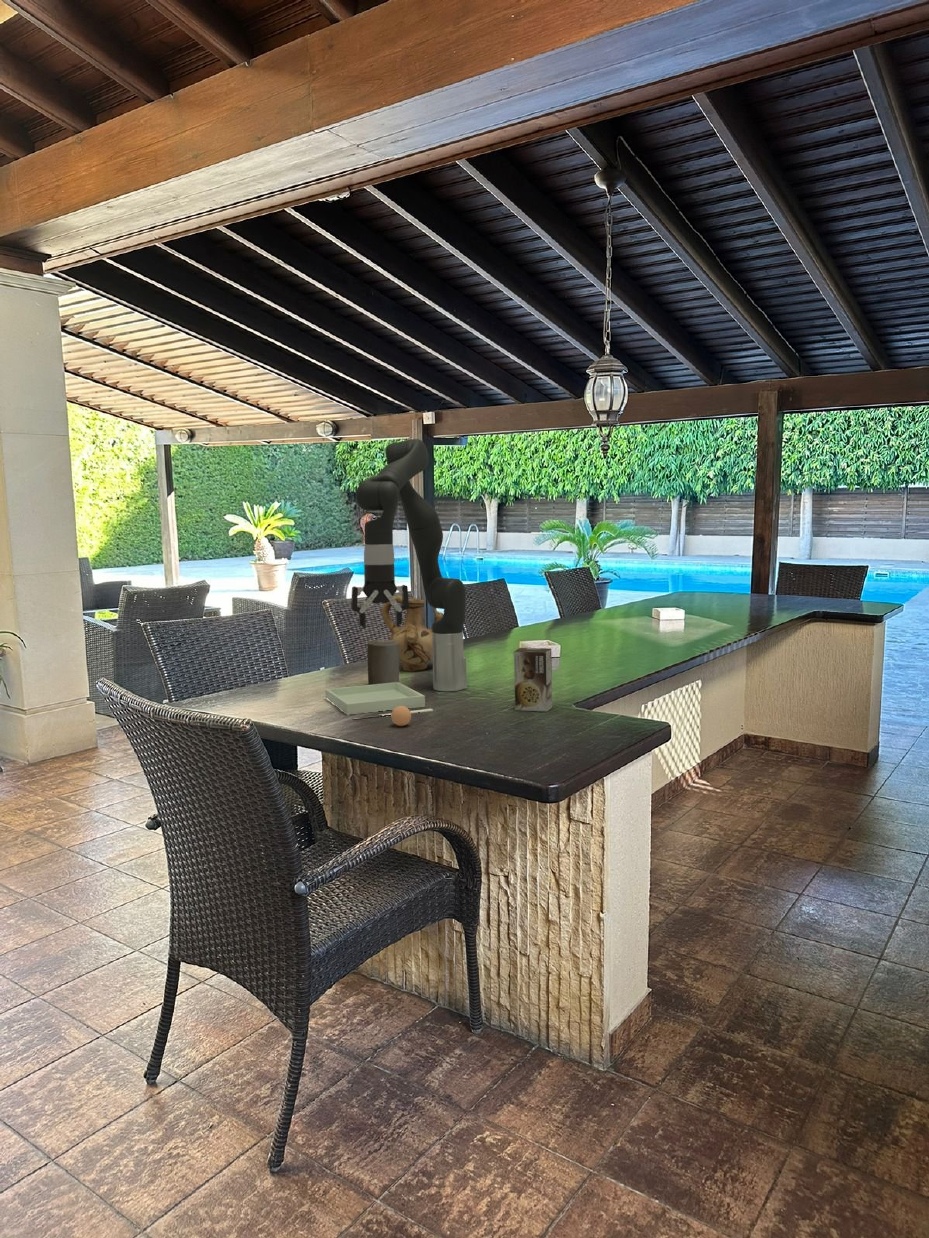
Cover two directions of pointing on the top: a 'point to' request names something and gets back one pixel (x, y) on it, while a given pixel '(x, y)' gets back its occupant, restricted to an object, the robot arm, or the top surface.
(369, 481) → the robot arm
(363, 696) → the tray
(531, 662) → the coffee box
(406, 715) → the ball
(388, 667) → the pillar candle
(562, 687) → the top surface
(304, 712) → the top surface
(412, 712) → the strip
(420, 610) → the ceramic vessel
